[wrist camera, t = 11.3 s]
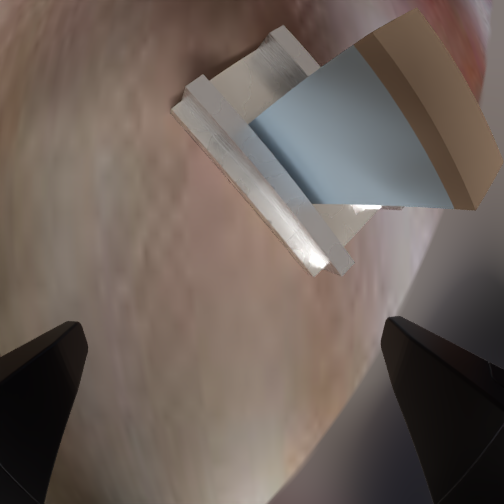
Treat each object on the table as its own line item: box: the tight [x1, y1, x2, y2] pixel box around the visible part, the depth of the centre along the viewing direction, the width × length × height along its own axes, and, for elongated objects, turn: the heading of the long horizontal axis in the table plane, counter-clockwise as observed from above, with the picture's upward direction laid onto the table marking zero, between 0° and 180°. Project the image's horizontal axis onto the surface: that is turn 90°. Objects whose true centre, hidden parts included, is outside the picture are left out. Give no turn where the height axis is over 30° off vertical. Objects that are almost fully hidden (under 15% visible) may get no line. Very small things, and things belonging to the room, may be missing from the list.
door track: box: [170, 25, 405, 277], centre depth 19 cm, size 9×14×4 cm, turn 41°
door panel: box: [248, 8, 503, 210], centre depth 14 cm, size 3×6×12 cm, turn 41°
